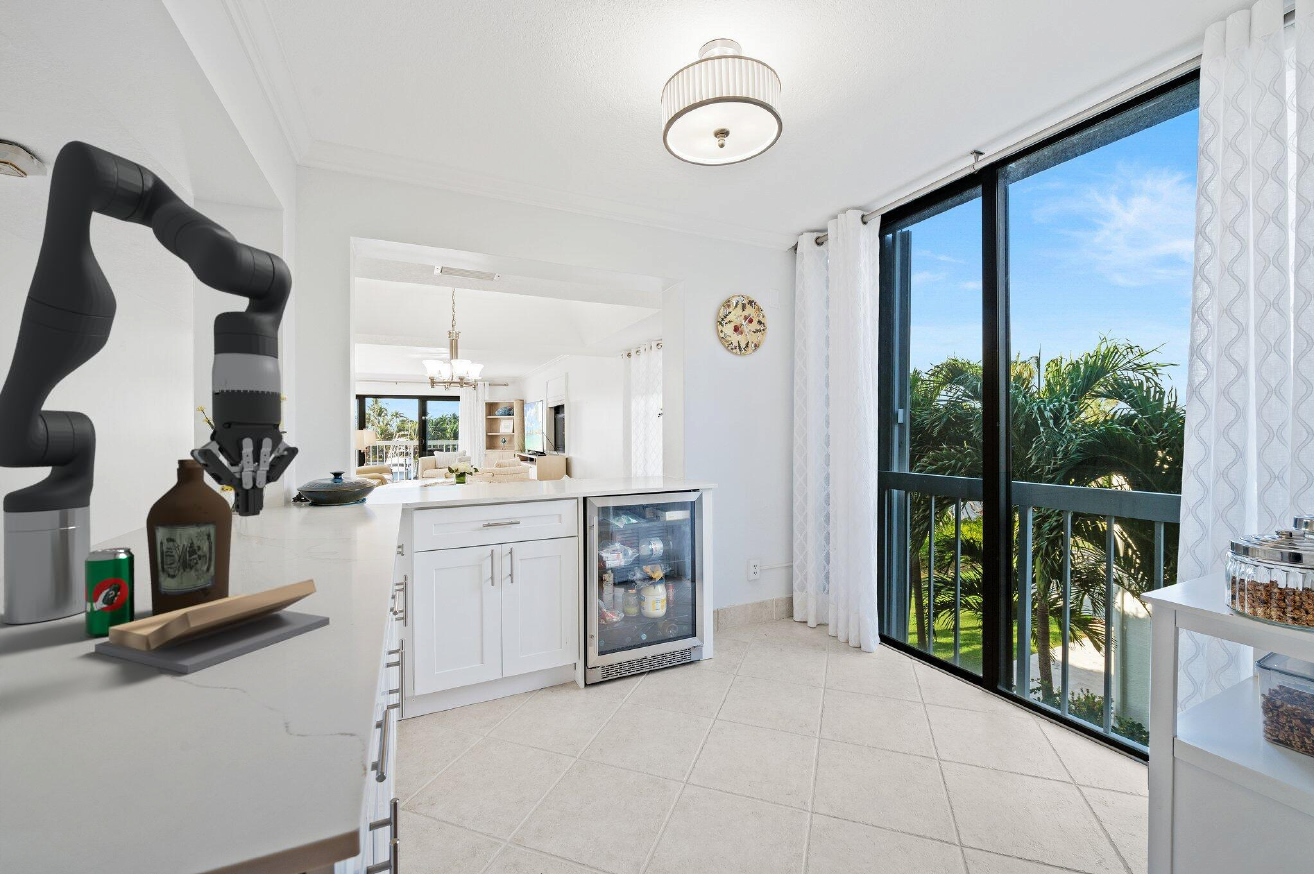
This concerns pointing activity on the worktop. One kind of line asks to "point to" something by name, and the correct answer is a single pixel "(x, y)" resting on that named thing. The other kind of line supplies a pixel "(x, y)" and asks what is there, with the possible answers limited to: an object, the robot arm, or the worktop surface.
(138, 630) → the oak plank
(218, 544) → the brown bottle
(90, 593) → the soda can
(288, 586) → the brown wooden board
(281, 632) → the gray flat board
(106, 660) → the worktop surface
